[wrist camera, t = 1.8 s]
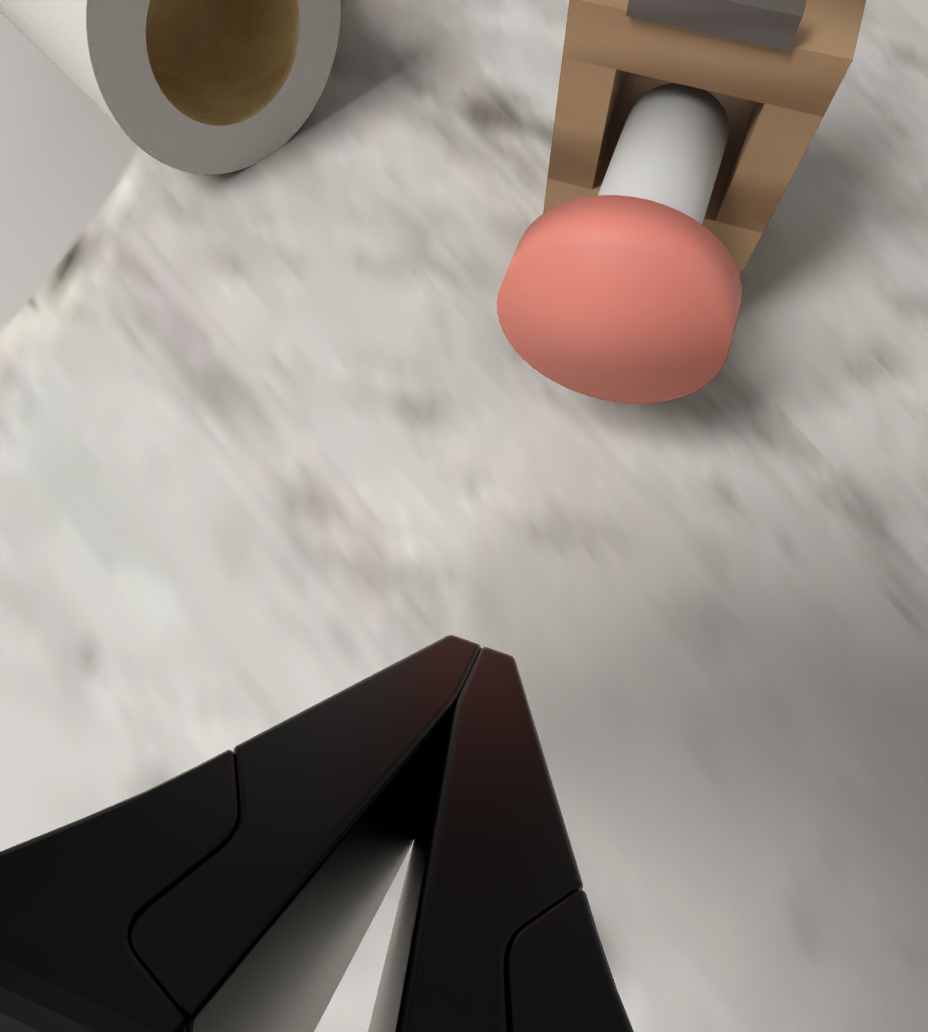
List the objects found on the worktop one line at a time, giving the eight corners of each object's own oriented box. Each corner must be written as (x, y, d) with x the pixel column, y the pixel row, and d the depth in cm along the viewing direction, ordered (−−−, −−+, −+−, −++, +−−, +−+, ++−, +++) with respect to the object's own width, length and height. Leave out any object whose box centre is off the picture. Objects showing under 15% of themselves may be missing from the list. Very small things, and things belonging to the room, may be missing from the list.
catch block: (714, 328, 26) (869, 30, 16) (534, 278, 27) (571, -32, 17) (747, 207, 28) (902, -123, 18) (579, 165, 29) (636, -171, 19)
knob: (688, 425, 20) (770, 285, 15) (493, 367, 21) (501, 214, 15) (740, 234, 23) (826, 54, 17) (565, 189, 24) (594, 3, 18)
